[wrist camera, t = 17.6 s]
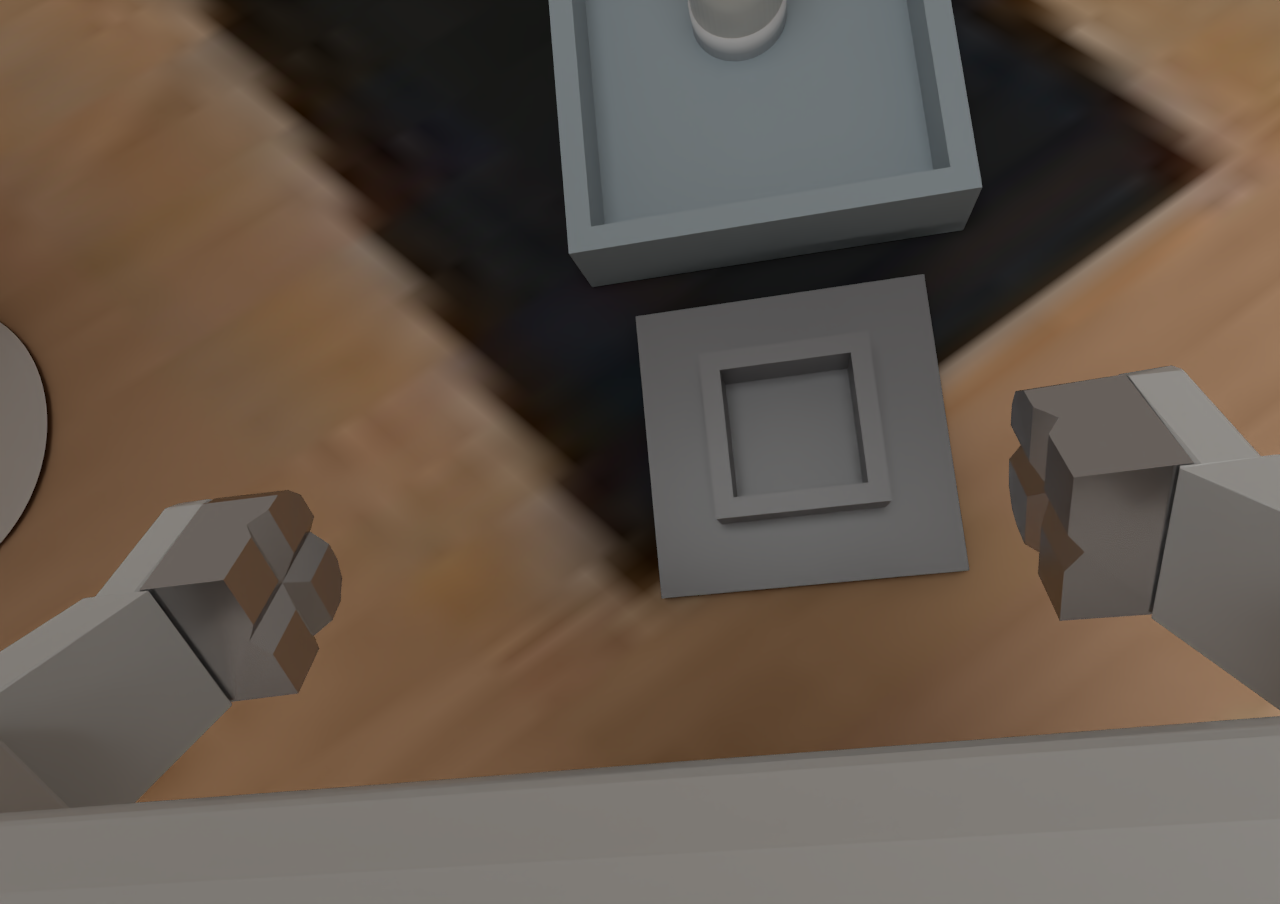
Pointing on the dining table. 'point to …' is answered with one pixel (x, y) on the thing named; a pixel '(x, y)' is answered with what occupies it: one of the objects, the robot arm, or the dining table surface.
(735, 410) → the plate
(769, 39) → the white rounded cylinder
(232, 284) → the dining table surface
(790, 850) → the robot arm
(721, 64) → the tray
